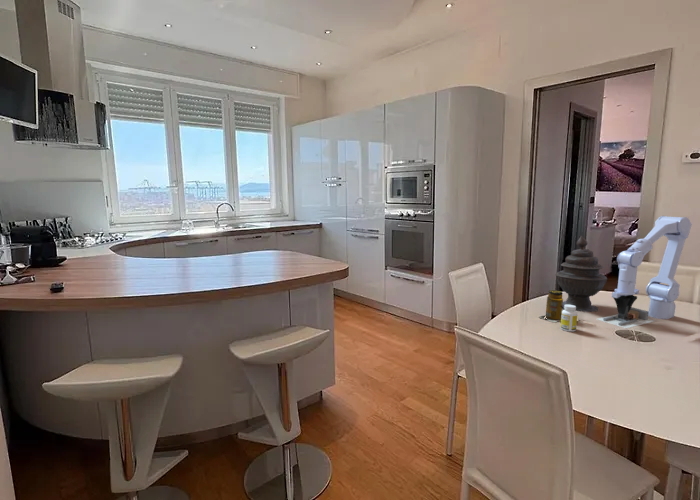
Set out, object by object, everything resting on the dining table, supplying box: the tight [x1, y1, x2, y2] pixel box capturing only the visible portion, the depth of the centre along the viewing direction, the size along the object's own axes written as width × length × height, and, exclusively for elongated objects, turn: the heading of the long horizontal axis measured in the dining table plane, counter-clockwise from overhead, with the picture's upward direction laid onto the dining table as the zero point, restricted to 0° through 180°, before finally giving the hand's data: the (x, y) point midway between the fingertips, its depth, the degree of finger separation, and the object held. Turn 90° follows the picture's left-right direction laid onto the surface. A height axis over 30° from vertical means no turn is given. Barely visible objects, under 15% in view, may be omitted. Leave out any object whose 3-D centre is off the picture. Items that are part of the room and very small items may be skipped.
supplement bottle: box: [560, 304, 578, 333], centre depth 150 cm, size 5×5×10 cm
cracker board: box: [596, 306, 656, 329], centre depth 158 cm, size 20×12×5 cm, turn 114°
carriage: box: [615, 306, 635, 322], centre depth 157 cm, size 6×4×6 cm
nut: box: [629, 310, 639, 320], centre depth 159 cm, size 4×4×3 cm
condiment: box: [538, 289, 564, 323], centre depth 164 cm, size 7×8×12 cm
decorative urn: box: [555, 235, 608, 313], centre depth 174 cm, size 20×20×35 cm
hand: (623, 312), depth 156 cm, fingers closed on carriage, 2 cm apart
